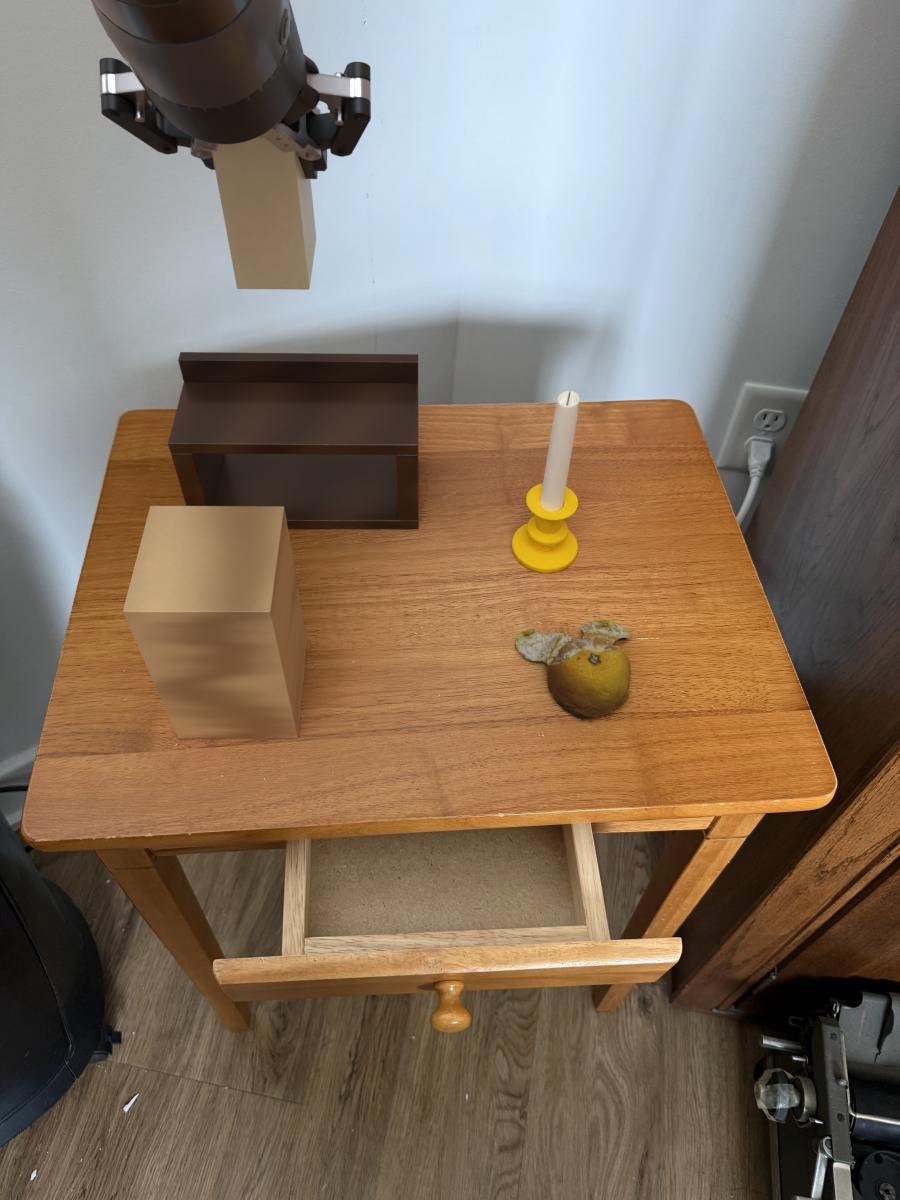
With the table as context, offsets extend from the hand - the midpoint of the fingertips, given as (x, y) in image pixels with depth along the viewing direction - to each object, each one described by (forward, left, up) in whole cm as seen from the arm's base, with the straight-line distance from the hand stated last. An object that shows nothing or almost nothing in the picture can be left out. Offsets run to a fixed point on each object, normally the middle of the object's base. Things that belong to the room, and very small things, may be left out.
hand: (268, 161), depth 54 cm
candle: (+19, -8, -27) cm, 34 cm away
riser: (-3, -21, -26) cm, 34 cm away
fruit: (+21, -19, -27) cm, 39 cm away
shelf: (0, -2, -26) cm, 27 cm away
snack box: (0, -2, -6) cm, 6 cm away
